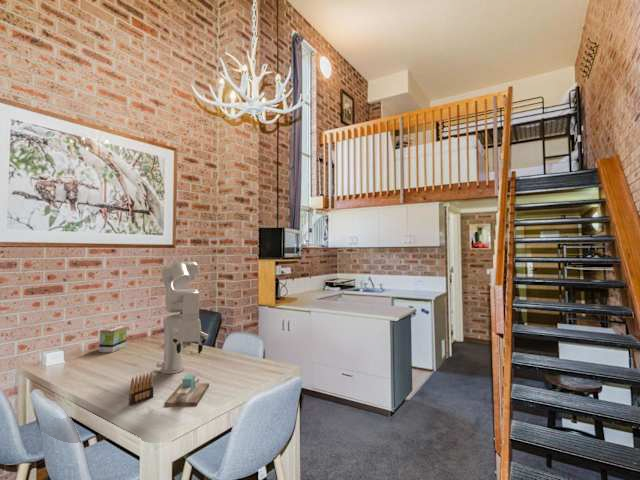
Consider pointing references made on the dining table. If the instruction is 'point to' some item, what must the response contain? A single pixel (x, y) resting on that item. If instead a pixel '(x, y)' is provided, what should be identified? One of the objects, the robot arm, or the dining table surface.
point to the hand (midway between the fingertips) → (189, 352)
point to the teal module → (189, 382)
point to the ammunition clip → (141, 389)
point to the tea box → (112, 338)
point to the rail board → (192, 399)
